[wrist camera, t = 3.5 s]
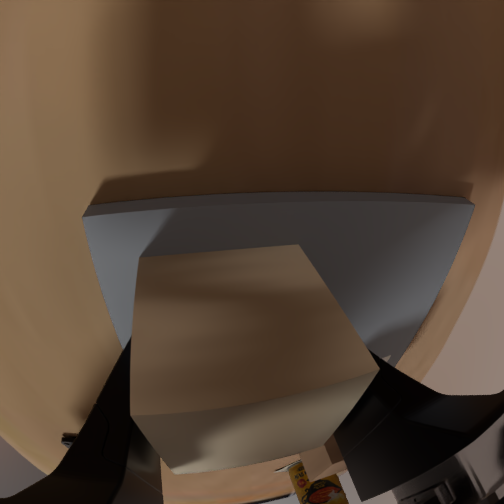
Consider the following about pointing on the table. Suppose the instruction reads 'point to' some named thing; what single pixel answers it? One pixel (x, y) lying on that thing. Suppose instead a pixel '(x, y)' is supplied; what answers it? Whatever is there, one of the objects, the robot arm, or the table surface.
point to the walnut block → (323, 460)
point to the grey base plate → (309, 239)
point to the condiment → (315, 487)
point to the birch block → (240, 357)
